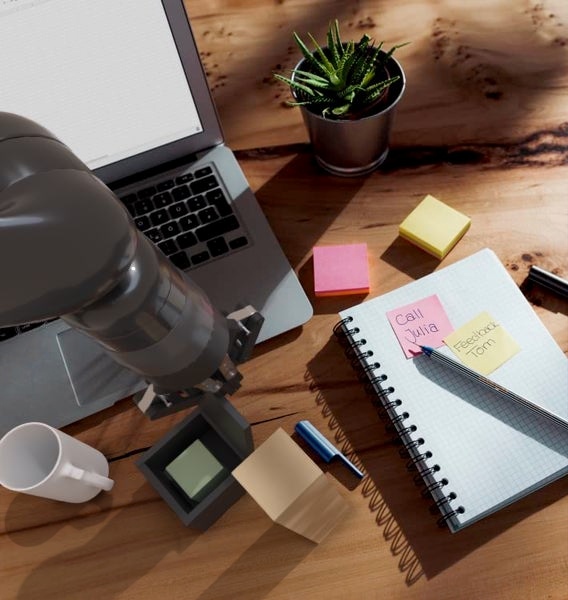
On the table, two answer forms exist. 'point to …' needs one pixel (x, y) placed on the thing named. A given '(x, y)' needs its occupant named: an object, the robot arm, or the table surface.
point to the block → (198, 471)
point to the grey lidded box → (170, 490)
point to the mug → (51, 464)
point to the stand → (291, 488)
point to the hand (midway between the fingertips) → (230, 384)
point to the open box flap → (229, 422)
